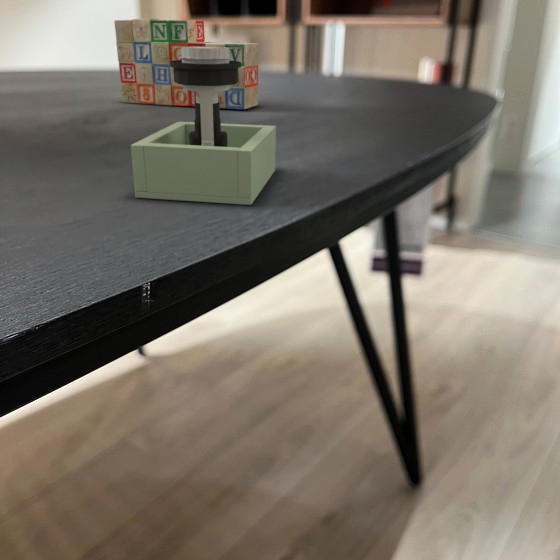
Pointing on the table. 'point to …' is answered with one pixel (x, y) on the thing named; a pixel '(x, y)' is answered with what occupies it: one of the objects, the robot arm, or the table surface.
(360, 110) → the table surface
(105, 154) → the table surface
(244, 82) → the stack of blocks
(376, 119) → the table surface
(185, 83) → the push button
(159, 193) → the open green box
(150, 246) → the table surface
